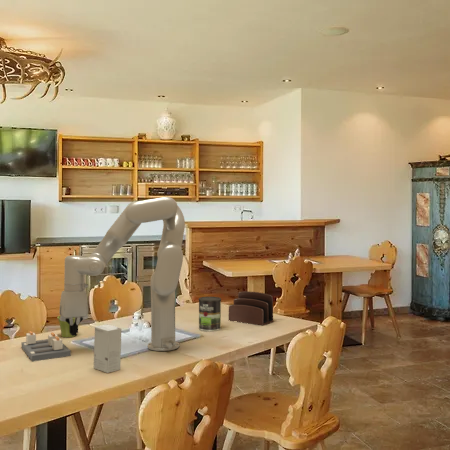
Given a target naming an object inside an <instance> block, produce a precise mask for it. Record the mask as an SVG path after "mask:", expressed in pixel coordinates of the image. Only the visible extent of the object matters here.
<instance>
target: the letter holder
mask: <svg viewBox="0 0 450 450" xmlns="http://www.w3.org/2000/svg"><path fill="white" fill-rule="evenodd" d="M237 296H238V297H237V298H234V299H233V304H231V305H228V321H229V320H230V321H229V322H234V321H237V322H236V323H241V322H242V324H247V323H248V324H249V325H254V326H261V327H263V326H266V325H269V324H272V323H273V322H274V299H273V296H272V295H271V294H268V293H264V292H259V291H239V292H238V295H237ZM248 324H247V325H248Z"/></svg>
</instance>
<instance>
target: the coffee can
mask: <svg viewBox="0 0 450 450" xmlns="http://www.w3.org/2000/svg"><path fill="white" fill-rule="evenodd" d="M221 322H222V298H221V297H218V296H202V297H198V330H199V331H201V332H217V331H220V330H221V329H222V327H221V326H222V323H221Z"/></svg>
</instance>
